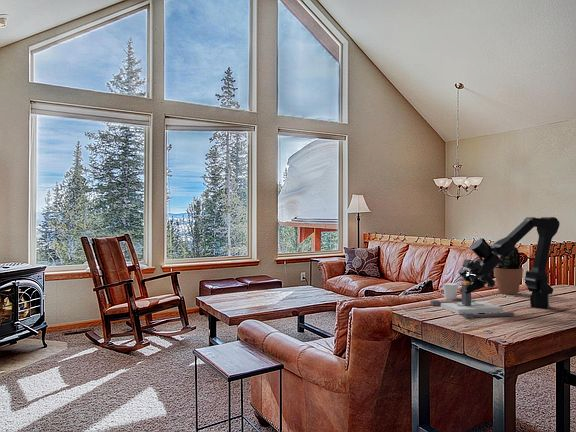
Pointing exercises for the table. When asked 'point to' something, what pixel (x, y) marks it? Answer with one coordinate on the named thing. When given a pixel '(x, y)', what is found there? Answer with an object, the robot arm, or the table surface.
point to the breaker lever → (465, 297)
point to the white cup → (450, 290)
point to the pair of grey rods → (471, 315)
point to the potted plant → (509, 273)
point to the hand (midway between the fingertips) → (463, 292)
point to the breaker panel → (471, 307)
